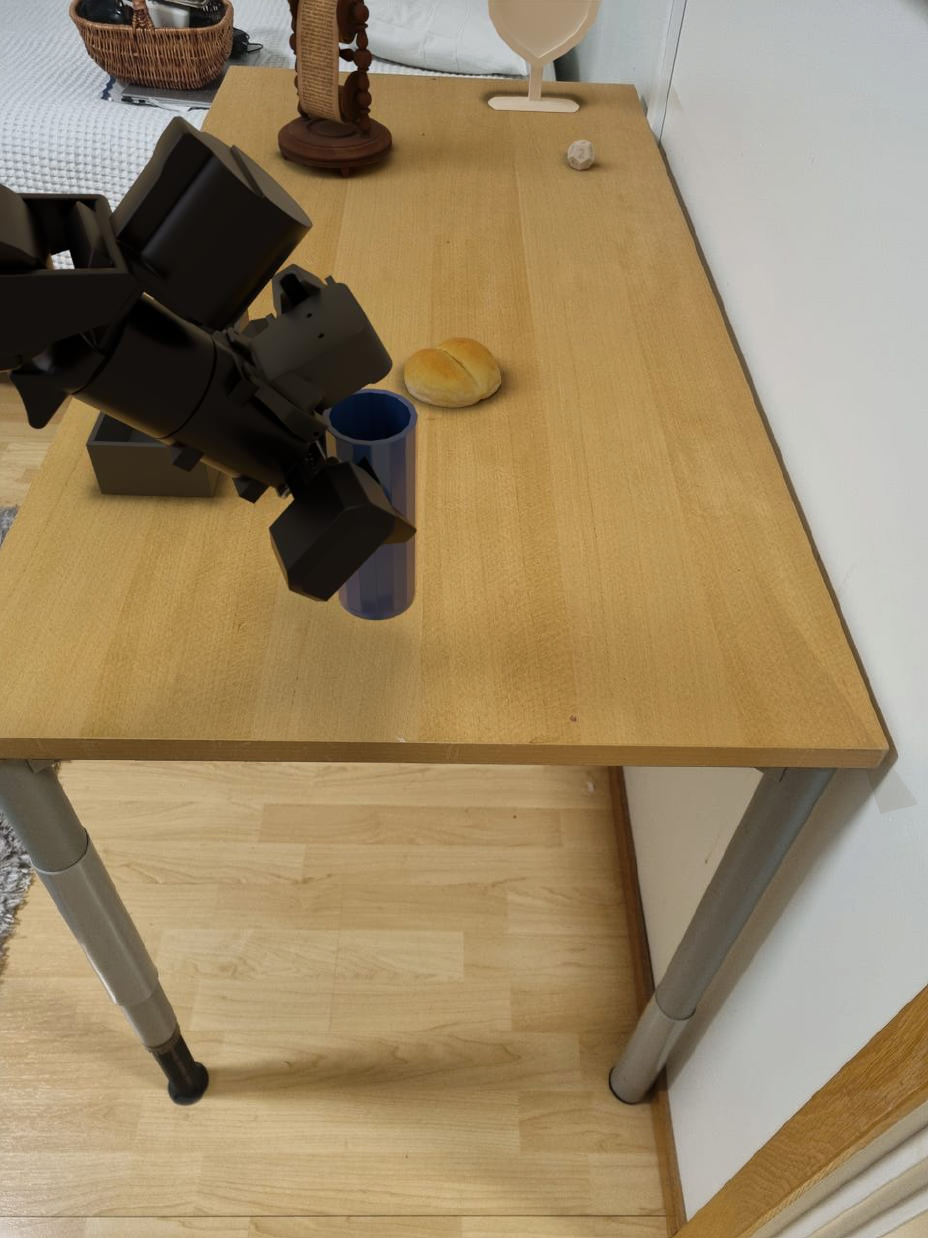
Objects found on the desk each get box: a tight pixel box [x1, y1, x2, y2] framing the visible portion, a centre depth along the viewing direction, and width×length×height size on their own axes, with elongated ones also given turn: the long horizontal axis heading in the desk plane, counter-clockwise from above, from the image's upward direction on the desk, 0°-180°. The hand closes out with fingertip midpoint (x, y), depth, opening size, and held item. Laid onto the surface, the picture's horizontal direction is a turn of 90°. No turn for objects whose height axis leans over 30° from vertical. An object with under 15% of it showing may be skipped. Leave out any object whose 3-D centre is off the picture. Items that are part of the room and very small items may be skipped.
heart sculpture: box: [487, 0, 602, 113], centre depth 131 cm, size 16×5×18 cm, turn 91°
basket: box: [85, 298, 251, 498], centre depth 82 cm, size 22×9×6 cm, turn 0°
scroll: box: [277, 0, 393, 178], centre depth 115 cm, size 15×15×20 cm
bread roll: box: [403, 336, 502, 409], centre depth 87 cm, size 8×9×4 cm
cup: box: [322, 387, 419, 622], centre depth 56 cm, size 5×5×14 cm
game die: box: [567, 139, 596, 171], centre depth 123 cm, size 4×4×3 cm
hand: (395, 505), depth 57 cm, fingers closed on cup, 5 cm apart
